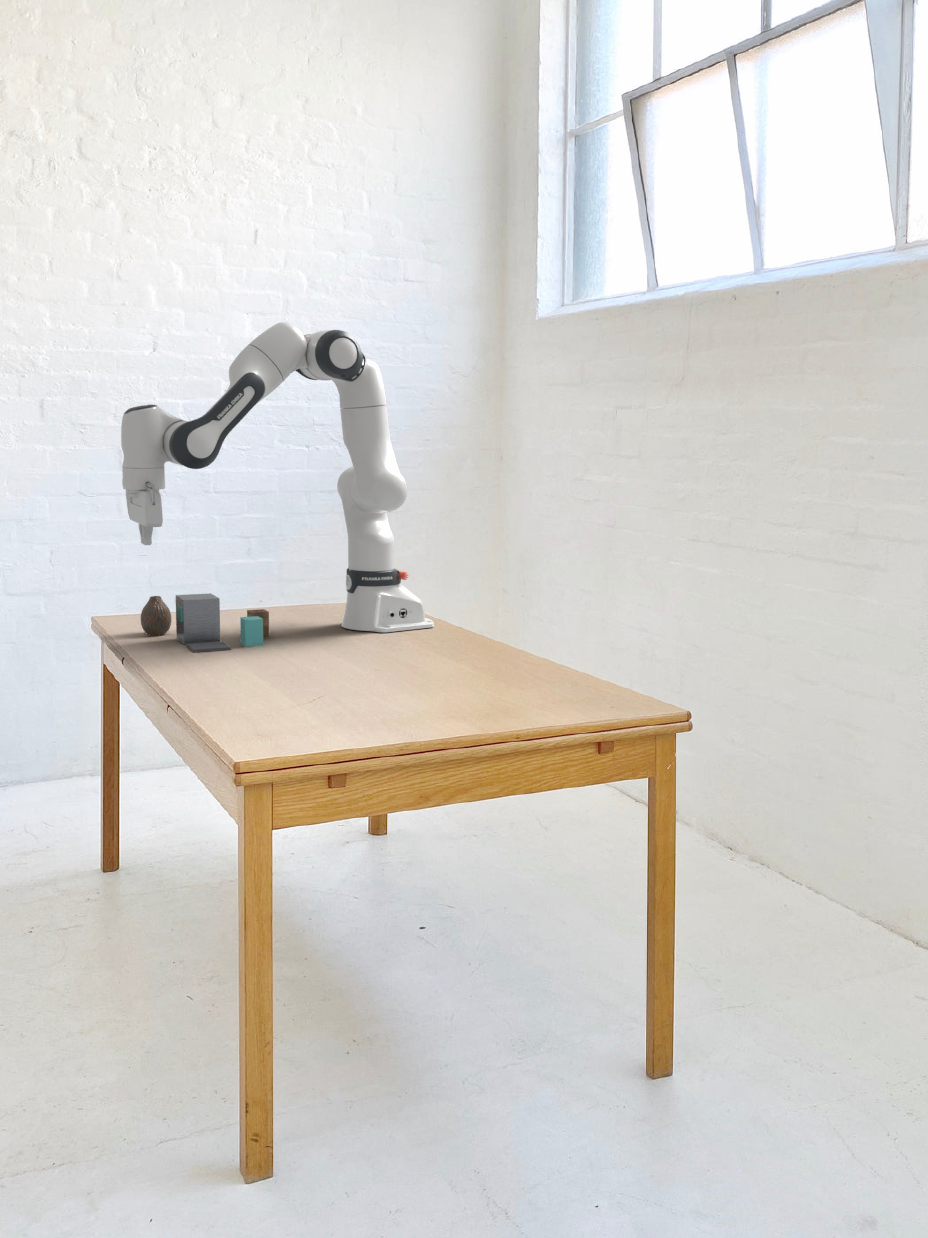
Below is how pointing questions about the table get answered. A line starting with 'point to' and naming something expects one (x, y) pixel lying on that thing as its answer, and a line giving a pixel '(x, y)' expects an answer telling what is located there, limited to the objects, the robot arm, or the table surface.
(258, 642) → the teal block
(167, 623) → the vase
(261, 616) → the walnut block
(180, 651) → the table surface
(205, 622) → the block
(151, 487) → the robot arm
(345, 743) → the table surface
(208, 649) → the pad
